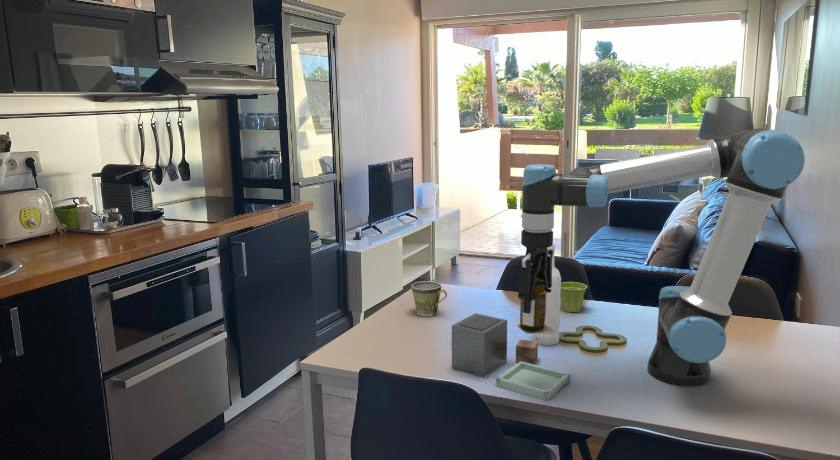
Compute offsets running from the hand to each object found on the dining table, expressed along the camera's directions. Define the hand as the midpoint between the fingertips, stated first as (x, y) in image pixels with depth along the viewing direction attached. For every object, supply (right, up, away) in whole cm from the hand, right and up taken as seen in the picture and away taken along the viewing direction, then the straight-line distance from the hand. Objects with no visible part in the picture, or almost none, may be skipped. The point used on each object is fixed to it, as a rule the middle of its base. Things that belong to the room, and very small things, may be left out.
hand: (534, 320), depth 155 cm
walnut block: (+1, -13, +17) cm, 22 cm away
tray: (0, -16, +3) cm, 16 cm away
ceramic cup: (-25, -6, +56) cm, 61 cm away
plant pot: (+23, -5, +58) cm, 63 cm away
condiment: (0, -2, 0) cm, 2 cm away
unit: (-12, -14, +15) cm, 24 cm away
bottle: (+9, -11, +31) cm, 34 cm away
